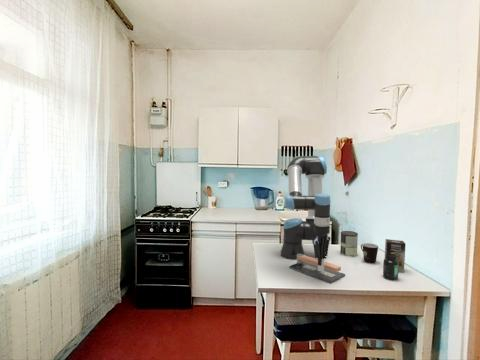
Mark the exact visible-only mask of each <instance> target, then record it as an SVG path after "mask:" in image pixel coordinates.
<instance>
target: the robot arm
mask: <svg viewBox="0 0 480 360" xmlns="http://www.w3.org/2000/svg"><path fill="white" fill-rule="evenodd" d="M327 169H328V168H327V161H326V158H325V157H324V156H319V155H310V156H309V155H308V156H307V155H300V156H297V157H294V158H293V159H292V160H291V161H289V163H288V165H287V167H286V173H287V175H288V194H286V195H285V199H284V201H285V203H284V207H285V208H286V209H288V210H307V217H305V220H304V221H303V219H302V218H297V217H296V218H295V217H294V218H288V219H285V220H284V222H283V227H282V228H283V243H282V245H281V249H280V256H281V255H282V256H284V257H286V258H285V259H288V258H290V259H289V260H297V254H303V255H305V250H304V246H303V241H311V242H312V244H313V245H312V246H313V251H314V258H315V259H318V271H321V272H324V261H325V260H326V259H327V257H328V252H329V247H330V241H331V237H330V236H329V234H330V232H331V229H330V228H331V226H330V224H331V223H330V222H331V220H330V219H331V196H330V194H328V193H323V180H322V179H324V177H325V175H327V172H328V171H327ZM302 175H305V178H306V179H307V195H303V187H302ZM282 256H281V257H282ZM284 257H283V258H284Z"/></svg>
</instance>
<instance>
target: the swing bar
mask: <svg viewBox="0 0 480 360" xmlns="http://www.w3.org/2000/svg"><path fill="white" fill-rule="evenodd" d="M297 260H300V261H303V262H306V263H309V264H312V265H315V266H318V258H315V257H311V256H309V255H303V254H297V259H296V261H297ZM324 269H327V270H330V271H333V272H336V273H337V272H341V271H342V270H341V269H342V267H341V266H340V265H337V264H335V263H330V262H328V261H325V260H324Z"/></svg>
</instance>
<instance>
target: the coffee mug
mask: <svg viewBox="0 0 480 360" xmlns="http://www.w3.org/2000/svg"><path fill="white" fill-rule="evenodd" d="M360 249H361V251H362V252H363V262H364V263H366V264H370V265H373V264H376V263H377V257H378V256H377V255H378V251H379V245H377V244H374V243H371V242H370V243H369V242H365V243H362V244H361V245H360Z"/></svg>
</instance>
